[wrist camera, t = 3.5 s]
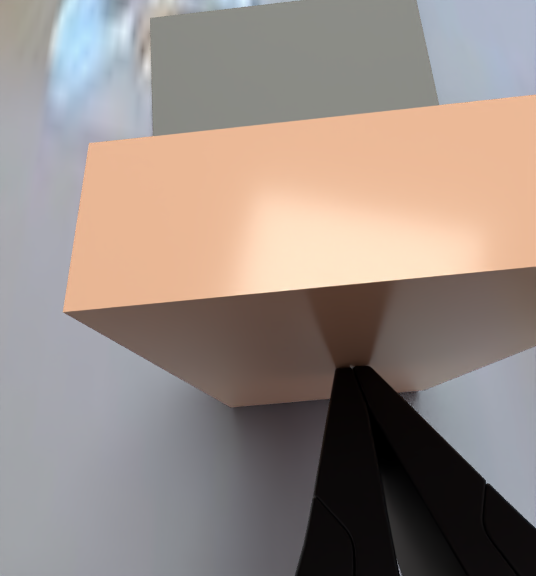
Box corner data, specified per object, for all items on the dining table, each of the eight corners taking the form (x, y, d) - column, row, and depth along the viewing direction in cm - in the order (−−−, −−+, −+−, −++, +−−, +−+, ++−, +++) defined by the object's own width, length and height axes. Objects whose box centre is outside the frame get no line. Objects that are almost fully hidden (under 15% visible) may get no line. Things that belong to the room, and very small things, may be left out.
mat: (472, 285, 16) (477, 283, 16) (161, 315, 16) (157, 313, 16) (410, -4, 19) (413, -13, 19) (153, 26, 20) (150, 17, 19)
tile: (424, 390, 15) (800, 240, 4) (230, 407, 15) (62, 312, 4) (409, 328, 16) (671, 72, 5) (228, 345, 16) (90, 135, 5)
